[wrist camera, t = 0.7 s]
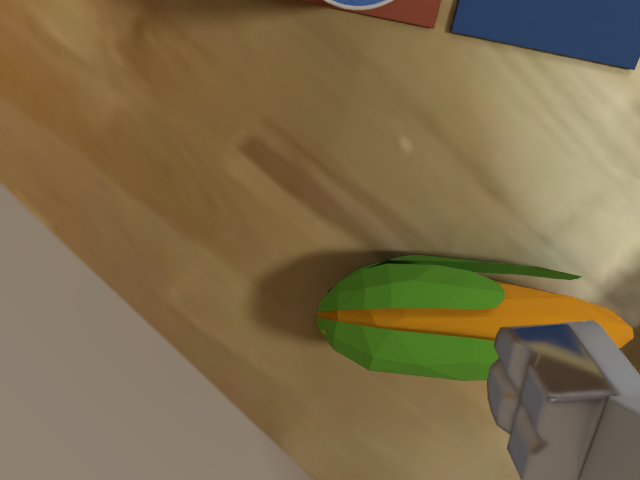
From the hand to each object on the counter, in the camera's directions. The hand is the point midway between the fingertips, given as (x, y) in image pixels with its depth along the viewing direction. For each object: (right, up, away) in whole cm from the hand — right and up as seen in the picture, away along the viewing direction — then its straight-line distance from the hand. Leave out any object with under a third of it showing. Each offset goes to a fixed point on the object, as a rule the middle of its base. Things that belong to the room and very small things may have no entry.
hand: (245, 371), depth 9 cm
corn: (+11, -1, +31) cm, 33 cm away
